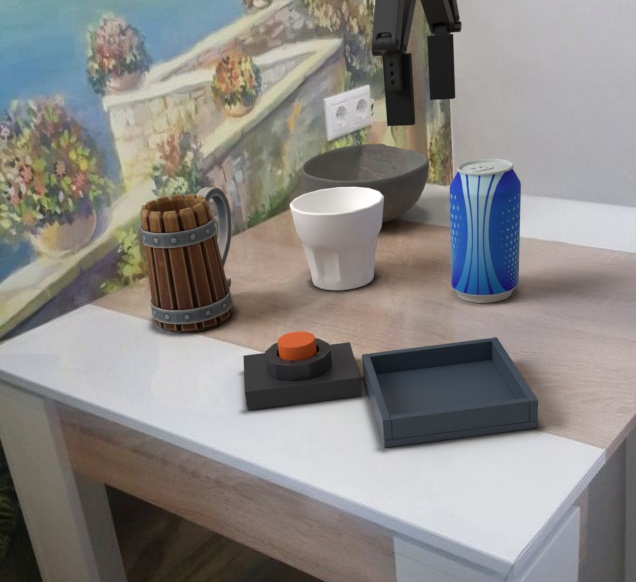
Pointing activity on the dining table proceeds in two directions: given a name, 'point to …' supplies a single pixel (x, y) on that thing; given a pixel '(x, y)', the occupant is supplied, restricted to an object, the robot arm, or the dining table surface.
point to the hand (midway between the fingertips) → (423, 111)
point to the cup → (339, 234)
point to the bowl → (371, 173)
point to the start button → (297, 346)
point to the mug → (188, 260)
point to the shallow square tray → (447, 392)
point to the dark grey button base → (301, 377)
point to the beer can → (485, 230)
